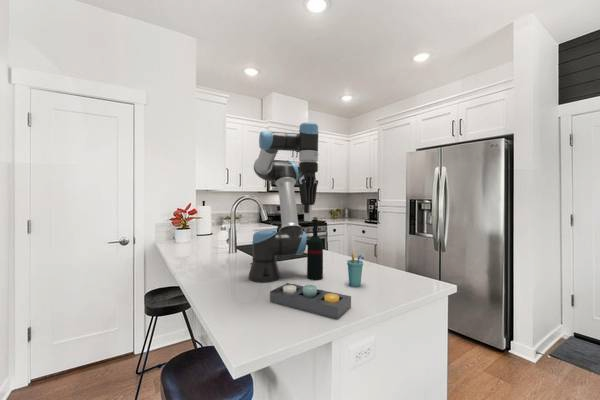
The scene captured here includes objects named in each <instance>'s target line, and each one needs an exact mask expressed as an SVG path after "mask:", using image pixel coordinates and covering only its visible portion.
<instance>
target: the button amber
mask: <svg viewBox="0 0 600 400" xmlns="http://www.w3.org/2000/svg"><path fill="white" fill-rule="evenodd" d="M324 301H327V302H332V303H338V302H339V295H337V294H332V293H330V294H325V295H324Z"/></svg>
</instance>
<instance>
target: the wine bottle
mask: <svg viewBox="0 0 600 400" xmlns="http://www.w3.org/2000/svg"><path fill="white" fill-rule="evenodd" d="M318 223H319V221H318V216H312V236H311V237H309V238H308V239H307V244H306V248H307V252H306V253H307V254H306V257H307V258H306V261H307V262H306V264H307V265H306V278H307V280H310V281H322V280H323V279H324V277H323V276H324V241H323V240H322V238H321V237H320V236H318V225H319V224H318Z"/></svg>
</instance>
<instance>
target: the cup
mask: <svg viewBox="0 0 600 400" xmlns="http://www.w3.org/2000/svg"><path fill="white" fill-rule="evenodd" d="M360 258H361V260H360ZM364 259H365V258H364V256H362V254H359V255H358V256H357V259H355V253H354V252H352V253H351V259H349V260H346V264H347V275H348V285H349V286H350V287H352V288H353V287H354V288H359V287H361V284H362V283H361V282H362V274H363V273H362V272H363V266H364V261H362V260H364Z"/></svg>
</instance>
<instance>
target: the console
mask: <svg viewBox="0 0 600 400" xmlns="http://www.w3.org/2000/svg"><path fill="white" fill-rule="evenodd" d="M285 285H294V286H296V291H295V292H294V293H288V292H284V291H283V286H285ZM303 286H304V285H298V284H293V283H290V282H289V283H287V282H286V283H284V284H282V285H280V286H279V287H276V288H274V289H273V290H270V291H269V302H270V303H273V304H276V305H281V306H284V307H289V308H292V309H295V310H296V309H297V310H299V311H303V312H308V313H311V314H314V315H318V316H319V315H320V316H324V317H326V318H330V319H335V320H339V319H340V318H341V317H342V316H344V314H345V313H346V312H348V310H350V308H352V296H351V295H347V294H343V293H336V292H331V291H327V290H323V289H318V288H317V296H316V297H314V298H310V297H306V296H303ZM330 293H332V294H337V295H339V302H338V303H332V302H327V301H324V295H325V294H330Z"/></svg>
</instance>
